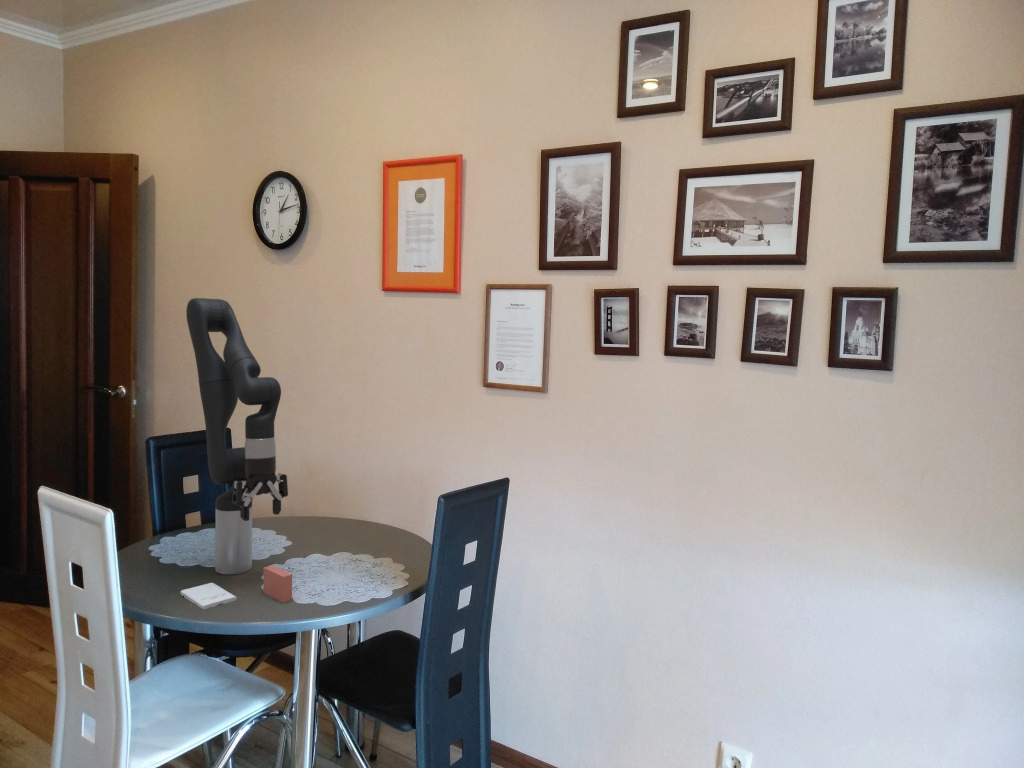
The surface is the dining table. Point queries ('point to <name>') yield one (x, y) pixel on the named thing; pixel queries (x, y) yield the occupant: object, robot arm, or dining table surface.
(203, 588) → the external hard drive
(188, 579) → the dining table surface
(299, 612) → the dining table surface
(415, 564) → the dining table surface
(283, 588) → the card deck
